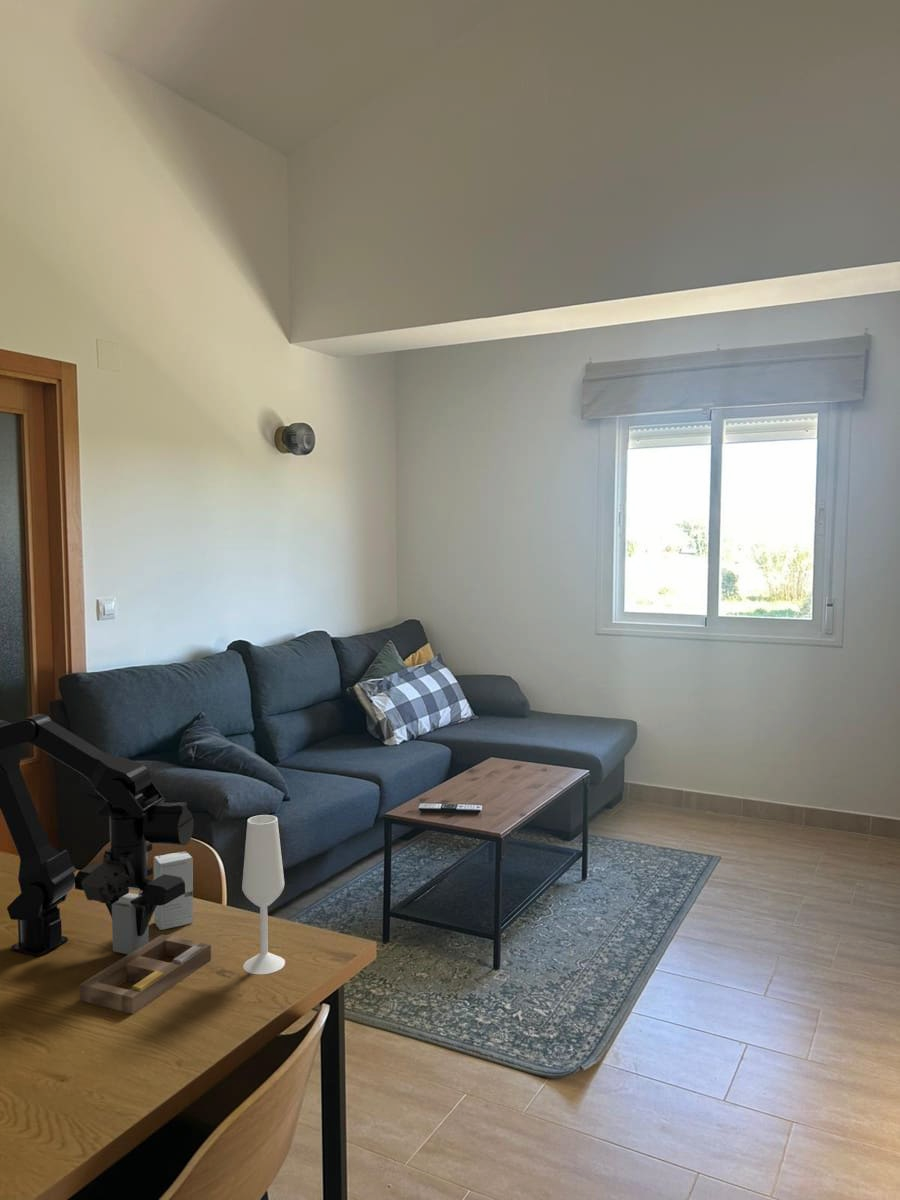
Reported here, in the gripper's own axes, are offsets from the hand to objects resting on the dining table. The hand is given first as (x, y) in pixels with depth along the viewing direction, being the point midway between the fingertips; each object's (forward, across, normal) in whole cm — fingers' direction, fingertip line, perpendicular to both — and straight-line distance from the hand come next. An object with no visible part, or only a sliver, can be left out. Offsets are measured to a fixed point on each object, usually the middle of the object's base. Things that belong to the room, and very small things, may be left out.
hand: (130, 933), depth 146 cm
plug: (+3, 0, 0) cm, 3 cm away
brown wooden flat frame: (+3, +9, -6) cm, 11 cm away
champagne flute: (+4, +23, +5) cm, 24 cm away
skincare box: (+4, -1, +12) cm, 13 cm away
